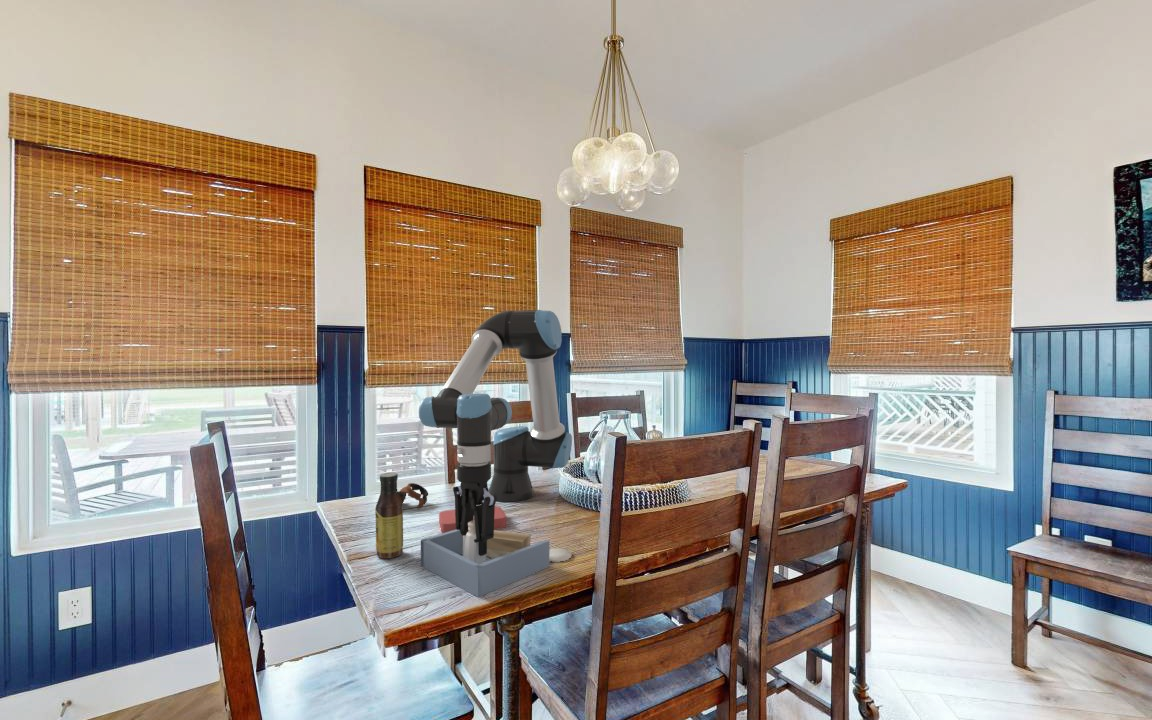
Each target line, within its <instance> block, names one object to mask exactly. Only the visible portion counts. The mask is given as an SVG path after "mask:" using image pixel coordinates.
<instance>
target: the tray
mask: <svg viewBox="0 0 1152 720" xmlns="http://www.w3.org/2000/svg"><path fill="white" fill-rule="evenodd" d="M549 549H550V540H548V539H544V540H541V541H538V542H536V543H533V544H530V546H528V547H525V548H522V549H519V550H517V551H514V552H511V553H509V554H506V555H503V556H500V557H498V558H495V559H494V558H491V559H490V560H486V562H484V563H482V564H478V563H476V562H473V561H471V560H469V559H467V558H465V557H463V547H462V535H461V533H460V530H457V529H456V530H452V531H449V532H446V533H442V532H441V533H439V534H437V535H433V536H430V537H426V538H422V539H420V566H421V567H422V568H424V569H425V570H428V571H430V572H431V573H434V574H435V575H437V576H439V577H441V578H442V579H444V580H446V581H448V582H450V583H451V584H453V585H455V586H457V587H458V588H460V589H463V590H464V591H466V592H468V593H470V594H471V595H473V596H475V597H477V598H479V597H482V596H484V595H487V594H489V593H492V592H494V591H496V590H498V589H501V588H503V587H507V585H511V584H513V583H515V582H517V581H519V580H522V579H525V578H527V577H529V576H531V574H532V575H533V573H534V574H536V573H539V572H541V571H543V570H546V569H548V568H550V562H549ZM547 567H548V568H547ZM545 568H546V569H545ZM542 569H543V570H542ZM540 570H541V571H540ZM538 571H539V572H538ZM535 572H536V573H535ZM526 576H527V577H526Z"/></svg>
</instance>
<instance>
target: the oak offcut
mask: <svg viewBox="0 0 1152 720" xmlns="http://www.w3.org/2000/svg"><path fill="white" fill-rule="evenodd" d="M531 542H532V541H531V534H526V533H520V532H519V533H518V532H512V531H511V532H510V531H504V530H498V529H494V537H493V538H491V539H488V540H487V549H493V550H499V551H506V552H514V551H517V550H519V549H522V548H525V547H528V546H530V545H531Z"/></svg>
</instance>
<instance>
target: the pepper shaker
mask: <svg viewBox="0 0 1152 720" xmlns="http://www.w3.org/2000/svg"><path fill="white" fill-rule="evenodd" d="M468 530H469V531H468V532H467V534H466V539H465V549H464V557H465V558H467V559H469V560H471V561H473V562H474V540H475V539H477V538H476V529H475V521H470V522H468ZM481 535H482V534H481Z"/></svg>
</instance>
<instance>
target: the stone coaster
mask: <svg viewBox="0 0 1152 720" xmlns="http://www.w3.org/2000/svg"><path fill="white" fill-rule="evenodd" d="M572 554H573V553H572V552H571V551H570V550H569V549H565V548H557V547H556V548H549V561H552V562H551V563H561V562H560V561H564V562H566V561H565V560H567V561H569V560H570V559H569V558H571V559H572V557H573V556H572ZM571 556H572V557H571ZM568 559H569V560H568Z"/></svg>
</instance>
